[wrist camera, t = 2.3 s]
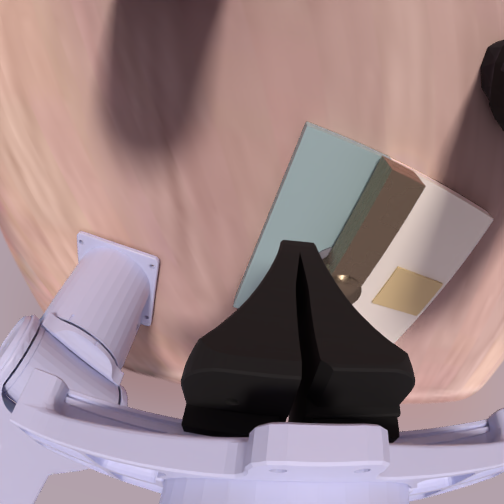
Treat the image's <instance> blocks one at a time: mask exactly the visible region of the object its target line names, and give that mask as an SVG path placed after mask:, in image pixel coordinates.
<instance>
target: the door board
mask: <svg viewBox="0 0 504 504" xmlns="http://www.w3.org/2000/svg"><path fill="white" fill-rule="evenodd" d="M382 156H384V157H386V158H388V159H390V160H392V161H395V162H397V163H399V164H401V165H403V166H405V167H407V168H409V169H411V170H412V171H414V172H415V173H416V175H417V176H418V177H419V178H420V180H421V181H422V182H423V183H424V185H425V186H426V187H425V188H424V190H423V192H422V194H421V195H420V197H419V199H418V200H417V202H416V204H415V205H414V207H413V209H412V210H411V212H410V214H409V215H408V217H407V219H406V220H405V222H404V223H403V225H402V227H401V228H400V230H399V231H398V233H397V234H396V236H395V238H394V239H393V241H392V242H391V244H390V245H389V247H388V248H387V250H386V251H385V253H384V254H383V256H382V257H381V259H380V260H379V262H378V263H377V265H376V266H375V268H374V269H373V271H372V272H371V274H370V275H369V276H368V278H367V279H366V281H365V282H364V284H363V285H362V286H361V288H362V292H361V295H360V297H359V299H358V300H357V301H356V302H355V303H353V304H352V305H353V306H354V308H355V309H356V310H357V311H358V312H359V313H360V314H361V315H362V316H363V317H364V318H365V319H366V320H367V321H368V322H369V323H370V324H371V325H372V326H373V327H374V328H375V329H376V330H377V331H379V332H380V333H381V334H382V335H383V336H384V337H386V338H387V339H388V340H389V341H391V342H392V343H395V342H396V341H397V340H398V339H399V338H400V337H401V336H402V335H403V334H404V332H405V331H406V330H407V329H408V328H409V327H410V326H411V325H412V324H413V323H414V322H415V321H416V319H417V318H418V317H419V316H420V315H421V314H422V313H423V312H424V310H425V309H426V308H427V307H428V306H429V305H430V304H431V302H432V301H433V300H434V299H435V298H436V296H437V295H438V294H439V293H440V292H441V290H442V289H443V288H444V287H445V286H446V284H447V283H448V282H449V281H450V279H451V278H452V277H453V276H454V274H455V273H456V272H457V270H458V269H459V268H460V266H461V265H462V264H463V263H464V261H465V260H466V259H467V257H468V256H469V254H470V253H471V252H472V250H473V249H474V248H475V246H476V245H477V243H478V242H479V241H480V239H481V238H482V236H483V235H484V233H485V232H486V230H487V229H488V227H489V226H490V224H491V223H492V221H493V220H494V219H493V218H492V217H491V216H490V214H489V213H488V212H487V211H486V210H484V209H482V208H481V207H479V206H478V205H476V204H474V203H473V202H471V201H470V200H468V199H466V198H465V197H463V196H461V195H460V194H458V193H456V192H455V191H453V190H451V189H449V188H448V187H446V186H444V185H442V184H441V183H439V182H437V181H435V180H433V179H432V178H430V177H428V176H426V175H424V174H422V173H420V172H419V171H417V170H415V169H413V168H411V167H409V166H407V165H405V164H403V163H401V162H399V161H397V160H395V159H393V158H391V157H389V156H387V155H385V154H382V153H380V152H378V151H376V150H374V149H372V148H370V147H367V146H365V145H363V144H361V143H358V142H356V141H354V140H351V139H349V138H347V137H344V136H342V135H340V134H337V133H335V132H332V131H330V130H328V129H325V128H322V127H320V126H317V125H315V124H312V123H310V122H307V121H306V123H305V125H304V128H303V130H302V133H301V135H300V138H299V140H298V143H297V145H296V148H295V150H294V153H293V155H292V158H291V160H290V162H289V165H288V167H287V170H286V172H285V175H284V177H283V180H282V182H281V185H280V187H279V190H278V192H277V195H276V197H275V200H274V202H273V204H272V207H271V209H270V212H269V214H268V217H267V219H266V222H265V224H264V227H263V229H262V232H261V234H260V237H259V239H258V242H257V244H256V246H255V249H254V251H253V254H252V256H251V259H250V261H249V264H248V266H247V269H246V271H245V274H244V276H243V279H242V281H241V284H240V286H239V288H238V291H237V293H236V296H235V300H234V305H233V307H236V308H239V307H240V306H241V305H242V304H243V303H244V302H245V301H246V300H247V299H248V298H249V297H250V296H251V294H252V293H253V292H254V291H255V289H256V288H257V287H258V285H259V284H260V283H261V281H262V280H263V278H264V277H265V275H266V274H267V272H268V270H269V269H270V267H271V265H272V263H273V261H274V259H275V257H276V255H277V253H278V250H279V247H280V242H281V241H282V240H292V241H302V242H311V243H314V244H315V245H316V247H317V249H318V251H319V254H320V256H321V258H322V259H323V258H325V257H327V256H328V255H329V253H330V251H331V250H332V248H333V246H334V244H335V243H336V241H337V239H338V237H339V236H340V234H341V232H342V230H343V228H344V227H345V225H346V223H347V221H348V219H349V218H350V216H351V214H352V212H353V210H354V208H355V207H356V205H357V203H358V201H359V199H360V197H361V195H362V194H363V192H364V190H365V188H366V186H367V184H368V182H369V180H370V178H371V176H372V174H373V173H374V171H375V169H376V167H377V165H378V163H379V161H380V159H381V157H382Z"/></svg>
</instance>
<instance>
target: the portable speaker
mask: <svg viewBox="0 0 504 504" xmlns="http://www.w3.org/2000/svg"><path fill="white" fill-rule="evenodd" d="M481 80H482V89H483V91H484V92H485V94H486V96H487V97H488V99H489V105H490V107H491V110H492V112H493V115H494V117H495V120H496V121H497V122H498V124H499V125H500V126H501V128H502V129H503V131H504V40H501V41H498V42H496V43H494V44H492V45H491V46H489V47H488V49H487V52H486V55H485V58H484V61H483V63H482V66H481Z"/></svg>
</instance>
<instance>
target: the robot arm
mask: <svg viewBox="0 0 504 504" xmlns="http://www.w3.org/2000/svg"><path fill="white" fill-rule="evenodd" d="M82 241H83V242H82ZM77 247H78V261H79V263H78V265H77V266H76V268H75V269H74V270H73V272H72V273H71V274H70V276H69V277H68V279H67V280H66V281H65V283H64V284H63V286H62V287H61V289H60V290H59V292H58V293H57V295H56V296H55V297H54V299H53V300H52V302H51V303H50V305H49V307H48V308H47V310H46V311H45V313H44V314H43V316H42V317H41V319H38V318H37V317H36V316H35V315H32V316H25V317H23V318H22V319H21V320H20V321H19V322H18V323H17V324H16V325H15V326H14V328H13V329H12V330H11V332H10V333H9V334H8V336H7V337H6V339H5V340H4V342H3V343H2V345H1V346H0V504H34V503H35V501H36V499H37V497H38V495H39V493H40V492H41V490H42V488H43V486H44V484H45V482H46V480H47V478H48V477H49V475H52V474H58V473H67V472H75V471H81V470H86V469H88V468H90V469H93V470H95V471H98V472H100V473H102V474H105V475H108V476H110V477H113V478H116V479H118V480H121V481H124V482H127V483H129V484H133V485H136V486H138V487H142V488H145V489H148V490H151V491H155V492H158V493H161V498H160V502H159V504H410V503H409V502H410V501H414V500H419V499H423V498H427V497H431V496H435V495H439V494H442V493H446V492H449V491H452V490H456V489H459V488H463V487H466V486H469V485H472V484H475V483H478V482H481V481H484V480H487V479H490V478H493V477H495V476H497V475H499V474H501V473H503V472H504V408H502V409H499V410H497V411H496V412H494V413H493V414H492V415H491V416H490V417H489V418H488V419H485V420H480V421H475V422H470V423H464V424H458V425H453V426H446V427H439V428H431V429H423V430H413V431H402V432H399V427H398V420H397V417H399V416H400V406H399V405H400V403H401V402H402V401H403V400H404V399H405V398H406V397H407V395H408V394H409V393H410V392H411V390H412V389H413V387H414V385H415V377H414V372H413V368H412V365H411V362H410V359H409V357H408V354H407V353H406V352H405V351H403V350H402V349H401V348H399V347H398V346H396V345H395V344H394V343H392V342H391V341H389V340H388V339H387V338H386V337H384V336H383V335H382V334H381V333H380V332H379V331H377V330H376V329H375V328H374V327H373V326H372V325H371V324H370V323H369V322H368V321H367V320H366V319H365V318H364V317H363V316H362V315H361V314H360V313H359V312H358V311H357V310H356V309H355V308H354V306H353V305H352V304H351V303H350V301H349V300H348V299H347V298H346V296H345V295H344V293H343V292H342V291H341V289H340V288H339V286H338V285H337V283H336V282H335V280H334V279H333V277H332V275H331V274H330V272H329V270H328V269H327V267H326V265H325V263H324V261H323V259H322V258H321V256H320V254H319V251H318V249H317V247H316V245H315V244H314V243H311V242H302V241H292V240H282V241H281V242H280V247H279V250H278V253H277V255H276V257H275V259H274V261H273V263H272V265H271V267H270V269H269V270H268V272H267V274H266V275H265V277H264V278H263V280H262V281H261V283H260V284H259V285H258V287H257V288H256V289H255V291H254V292H253V293H252V294H251V296H250V297H249V298H248V299H247V300H246V301H245V302H244V303H243V304H242V305H241V306H240V307H239V308H238V309H237V310H236V311H235V312H234V313H233V314H232V315H231V316H230V317H228V318H227V319H226V320H225V321H224V322H223V323H221V324H220V325H219V326H218V327H216V328H215V329H213V330H212V331H210V332H209V333H207V334H206V335H204V336H203V337H202V338H200V339H199V340H198V342H197V343H196V345H195V347H194V348H193V350H192V352H191V354H190V356H189V358H188V360H187V362H186V365H185V368H184V371H183V375H182V379H181V387H182V390H183V393H184V397H185V400H186V408H185V412H184V416H183V419H178V418H173V417H168V416H163V415H159V414H154V413H150V412H146V411H142V410H137V409H134V408H130V407H128V398H127V393H126V390H125V389H124V387H123V386H121V385H120V383H121V380H122V378H123V375H124V373H123V372H122V371H121V368H122V367H123V365H124V363H125V360H126V358H127V355H128V353H129V350H130V348H131V346H132V343H133V341H134V338H135V336H136V334H137V331H138V329H139V327H140V324H142V325H145V326H150V325H151V323H152V315H153V307H154V299H155V291H156V284H157V277H158V270H159V263H160V260H159V258H158V257H156V256H154V255H151V254H148V253H145V252H142V251H139V250H136V249H133V248H130V247H127V246H124V245H121V244H118V243H115V242H112V241H109V240H106V239H103V238H101V237H98V236H95V235H92V234H89V233H86V232H83V231H80V232H79V233H78V234H77ZM152 265H154V266H155V267H154V266H152ZM7 396H8V397H9V398H10V399H12V400H13V401H15V402H16V403H17V404H16V403H14V402H13V401H12V400H10V399H9V398H8V397H7ZM288 416H289V421H288V422H285V421H286V418H287V417H288Z"/></svg>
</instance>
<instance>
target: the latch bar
mask: <svg viewBox="0 0 504 504" xmlns="http://www.w3.org/2000/svg"><path fill="white" fill-rule="evenodd" d="M425 187H426V186H425V185H424V183H423V182H422V181H421V180H420V178H419V177H418V176H417V175H416V173H415V172H414V171H412V170H411V169H409V168H407V167H405V166H403V165H401V164H399V163H397V162H395V161H392V160H390V159H388V158H386V157H384V156H382V157H381V159H380V161H379V163H378V165H377V167H376V169H375V171H374V173H373V174H372V176H371V178H370V180H369V182H368V184H367V186H366V188H365V190H364V192H363V194H362V195H361V197H360V199H359V201H358V203H357V205H356V207H355V208H354V210H353V212H352V214H351V216H350V218H349V219H348V221H347V223H346V225H345V227H344V228H343V230H342V232H341V234H340V236H339V237H338V239H337V241H336V243H335V244H334V246H333V248H332V250H331V251H330V253H329V255H328V256H327V257H325V258H323V261H324V263H325V265H326V267H327V269H328V270H329V272H330V274H331V275H332V277H333V279H334V280H335V282H336V283H337V285H338V286H339V288H340V289H341V291H342V292H343V293H344V295H345V296H346V298H347V299H348V300H349V301H350V303H351V304H353V303H355V302H356V301H357V300H358V299H359V297H360V295H361V292H362V288H361V286H362V285H363V284H364V282H365V281H366V279H367V278H368V276H369V275H370V274H371V272H372V271H373V269H374V268H375V266H376V265H377V263H378V262H379V260H380V259H381V257H382V256H383V254H384V253H385V251H386V250H387V248H388V247H389V245H390V244H391V242H392V241H393V239H394V238H395V236H396V234H397V233H398V231H399V230H400V228H401V227H402V225H403V223H404V222H405V220H406V219H407V217H408V215H409V214H410V212H411V210H412V209H413V207H414V205H415V204H416V202H417V200H418V199H419V197H420V195H421V194H422V192H423V190H424V188H425Z"/></svg>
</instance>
